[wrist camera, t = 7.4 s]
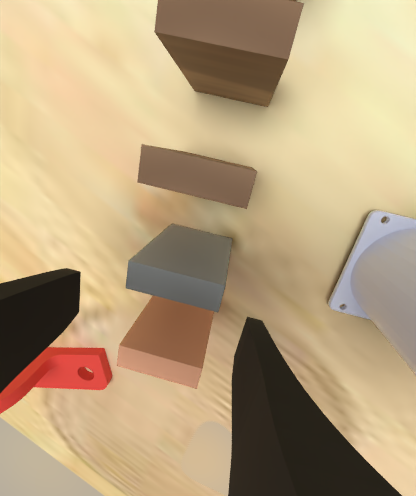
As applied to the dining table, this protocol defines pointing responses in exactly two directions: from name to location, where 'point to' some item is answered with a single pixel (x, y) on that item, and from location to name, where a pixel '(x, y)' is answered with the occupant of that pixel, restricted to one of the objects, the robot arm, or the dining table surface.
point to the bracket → (60, 373)
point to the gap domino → (182, 267)
